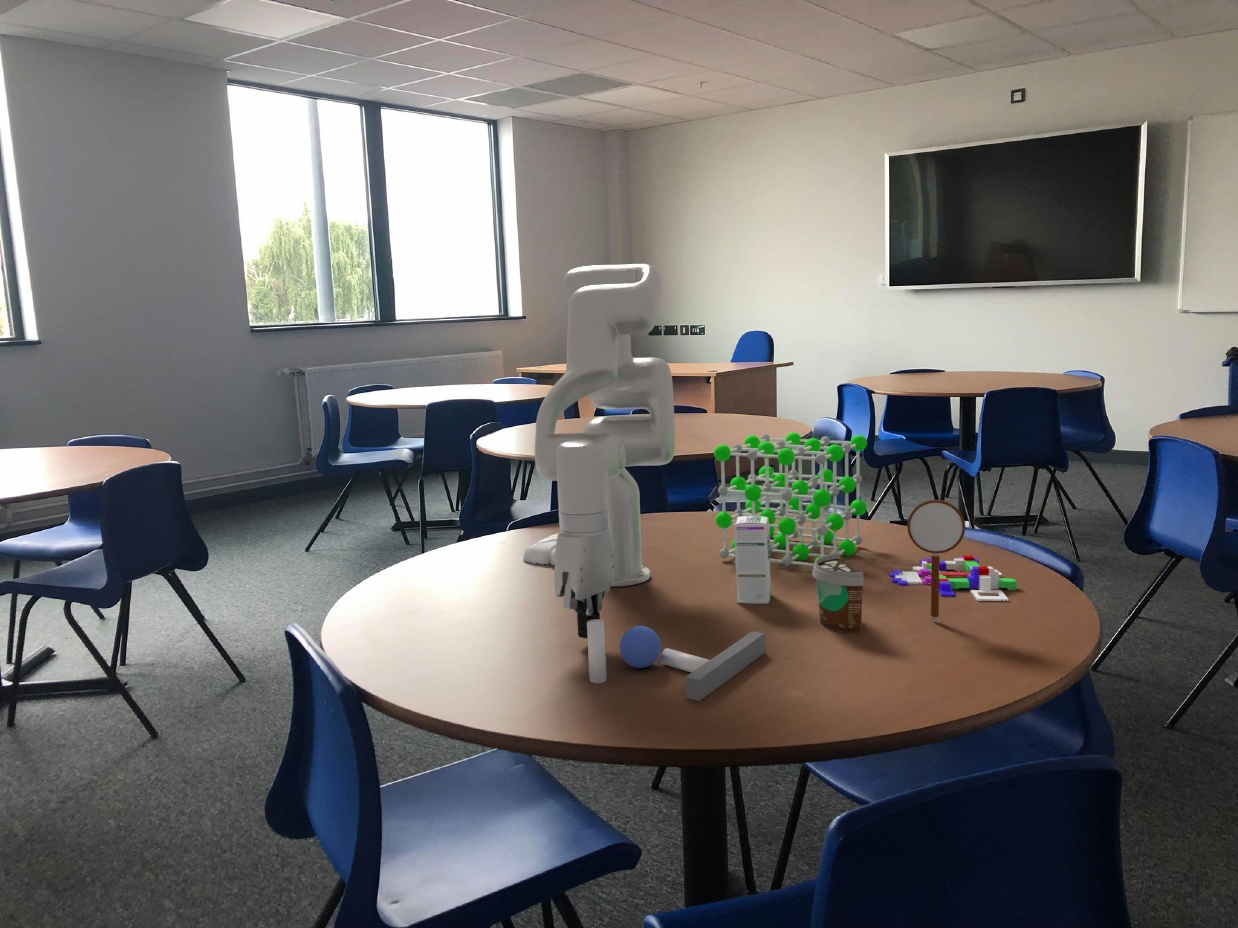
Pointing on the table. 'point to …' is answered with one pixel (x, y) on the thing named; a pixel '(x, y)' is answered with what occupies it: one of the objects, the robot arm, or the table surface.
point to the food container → (838, 594)
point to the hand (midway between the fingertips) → (589, 636)
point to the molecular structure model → (795, 494)
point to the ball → (640, 646)
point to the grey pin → (596, 651)
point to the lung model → (542, 551)
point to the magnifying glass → (936, 537)
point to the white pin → (682, 660)
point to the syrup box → (752, 559)
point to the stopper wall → (724, 666)
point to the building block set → (975, 579)
